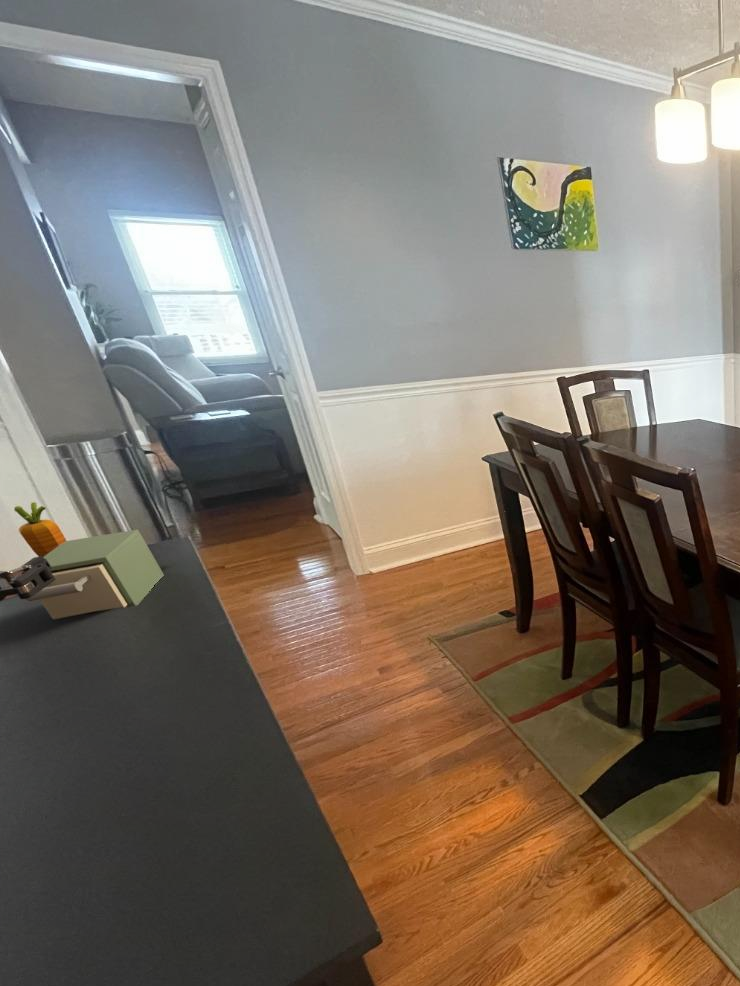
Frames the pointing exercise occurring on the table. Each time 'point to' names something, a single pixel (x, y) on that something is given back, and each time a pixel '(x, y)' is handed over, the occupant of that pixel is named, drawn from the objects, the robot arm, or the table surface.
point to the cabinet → (113, 561)
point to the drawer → (80, 591)
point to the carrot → (39, 531)
